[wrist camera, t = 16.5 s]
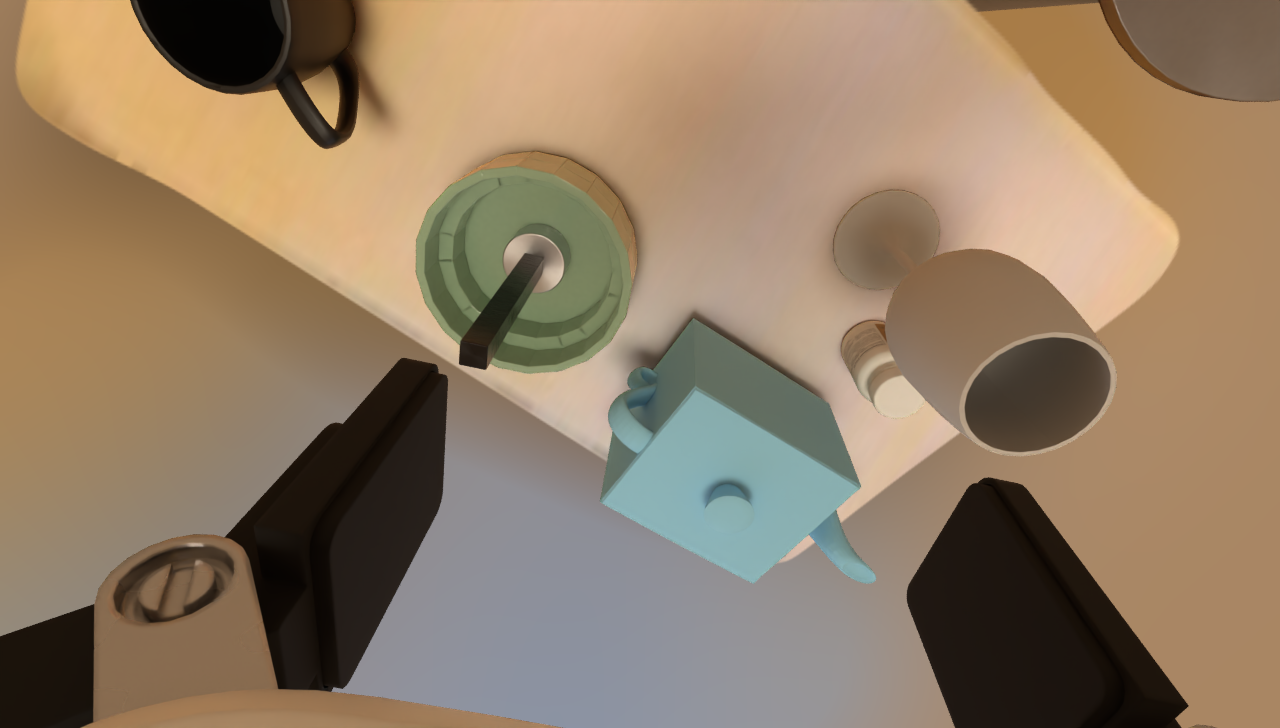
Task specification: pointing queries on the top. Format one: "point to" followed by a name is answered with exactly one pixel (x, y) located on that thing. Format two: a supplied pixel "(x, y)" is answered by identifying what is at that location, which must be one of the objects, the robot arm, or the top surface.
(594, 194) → the bowl
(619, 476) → the teapot
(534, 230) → the square post on disc
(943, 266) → the wineglass
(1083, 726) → the robot arm
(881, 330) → the pill bottle
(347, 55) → the mug
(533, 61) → the top surface
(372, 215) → the top surface
